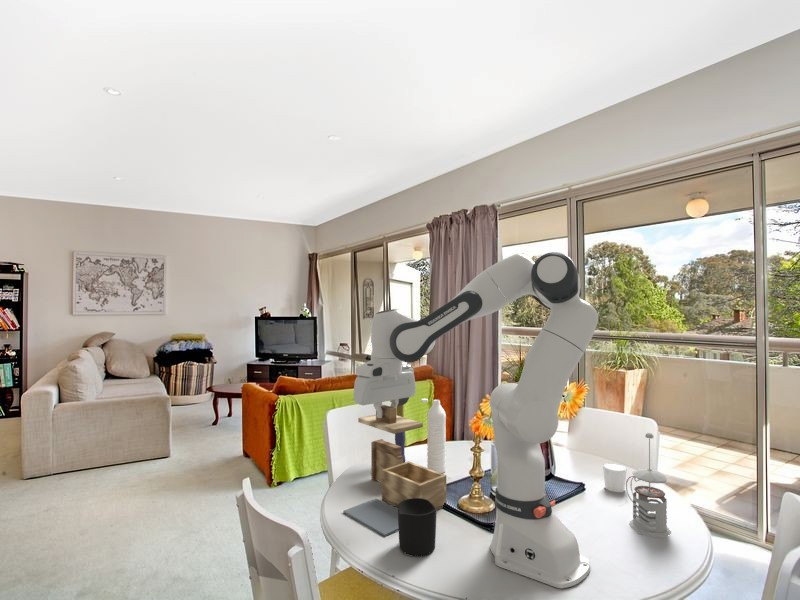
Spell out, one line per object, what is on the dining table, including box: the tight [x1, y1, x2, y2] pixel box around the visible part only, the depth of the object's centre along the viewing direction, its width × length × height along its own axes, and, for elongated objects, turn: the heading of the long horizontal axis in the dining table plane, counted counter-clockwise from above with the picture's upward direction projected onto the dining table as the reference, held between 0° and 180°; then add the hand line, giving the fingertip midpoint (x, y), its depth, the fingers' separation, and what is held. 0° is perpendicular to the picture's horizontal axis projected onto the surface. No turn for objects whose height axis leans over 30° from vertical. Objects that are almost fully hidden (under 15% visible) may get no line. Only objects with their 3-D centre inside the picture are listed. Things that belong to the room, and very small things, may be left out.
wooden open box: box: [381, 461, 447, 511], centre depth 135 cm, size 16×11×9 cm
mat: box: [342, 498, 399, 538], centre depth 126 cm, size 18×12×1 cm, turn 43°
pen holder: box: [397, 498, 438, 558], centre depth 111 cm, size 9×9×10 cm
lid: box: [357, 404, 424, 435], centre depth 129 cm, size 16×11×5 cm
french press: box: [625, 432, 672, 539], centre depth 121 cm, size 10×12×25 cm
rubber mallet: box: [394, 397, 410, 463], centre depth 167 cm, size 12×8×30 cm, turn 178°
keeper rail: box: [370, 438, 403, 483], centre depth 149 cm, size 12×4×13 cm, turn 43°
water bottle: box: [421, 398, 447, 474], centre depth 161 cm, size 9×6×25 cm
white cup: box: [602, 462, 627, 493], centre depth 146 cm, size 7×7×7 cm
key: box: [375, 439, 401, 456], centre depth 150 cm, size 10×2×2 cm, turn 43°
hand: (386, 416), depth 128 cm, fingers closed on lid, 2 cm apart
